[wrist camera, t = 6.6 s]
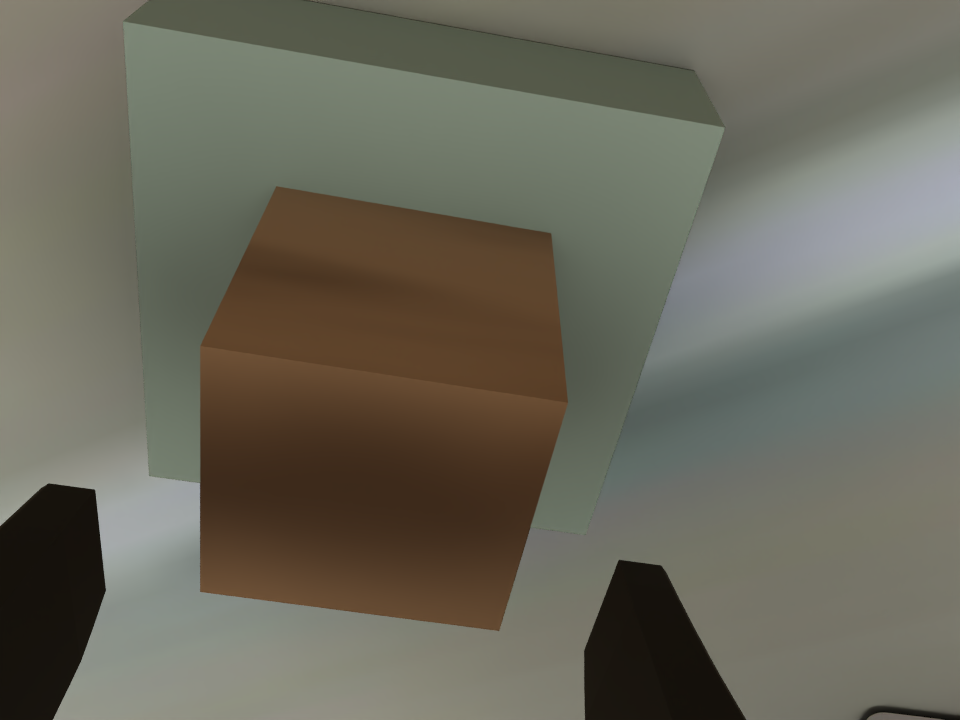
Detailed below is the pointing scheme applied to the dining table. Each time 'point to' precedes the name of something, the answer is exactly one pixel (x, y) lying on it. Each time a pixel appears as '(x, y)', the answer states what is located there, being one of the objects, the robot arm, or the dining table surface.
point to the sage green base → (409, 183)
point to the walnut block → (378, 410)
